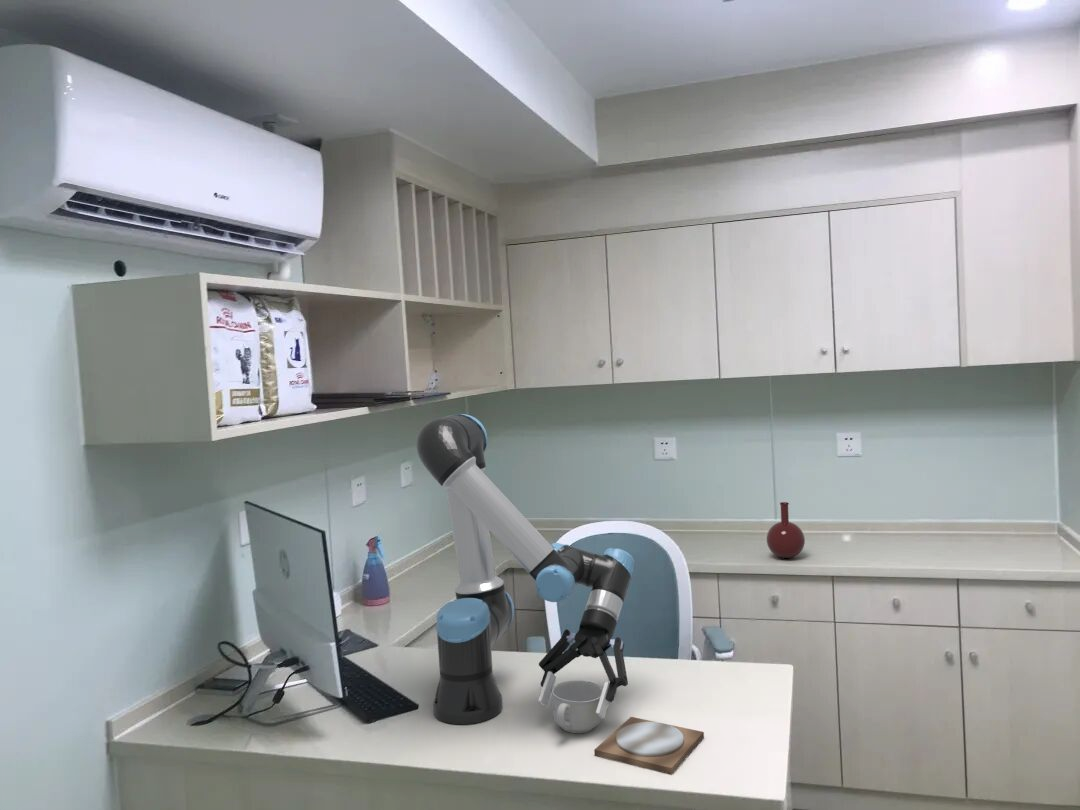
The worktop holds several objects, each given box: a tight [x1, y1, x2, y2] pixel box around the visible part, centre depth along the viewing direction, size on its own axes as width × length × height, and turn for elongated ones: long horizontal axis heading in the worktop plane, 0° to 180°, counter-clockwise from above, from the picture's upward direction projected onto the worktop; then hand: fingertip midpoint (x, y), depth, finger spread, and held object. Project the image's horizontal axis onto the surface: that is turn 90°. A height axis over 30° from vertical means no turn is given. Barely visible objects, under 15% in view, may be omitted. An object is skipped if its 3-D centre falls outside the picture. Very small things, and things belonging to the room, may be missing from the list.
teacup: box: [551, 680, 603, 734], centre depth 171 cm, size 14×11×8 cm
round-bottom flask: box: [766, 501, 806, 559], centre depth 298 cm, size 13×13×20 cm
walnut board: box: [593, 716, 705, 775], centre depth 162 cm, size 16×16×2 cm
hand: (570, 709), depth 170 cm, fingers open, 13 cm apart
